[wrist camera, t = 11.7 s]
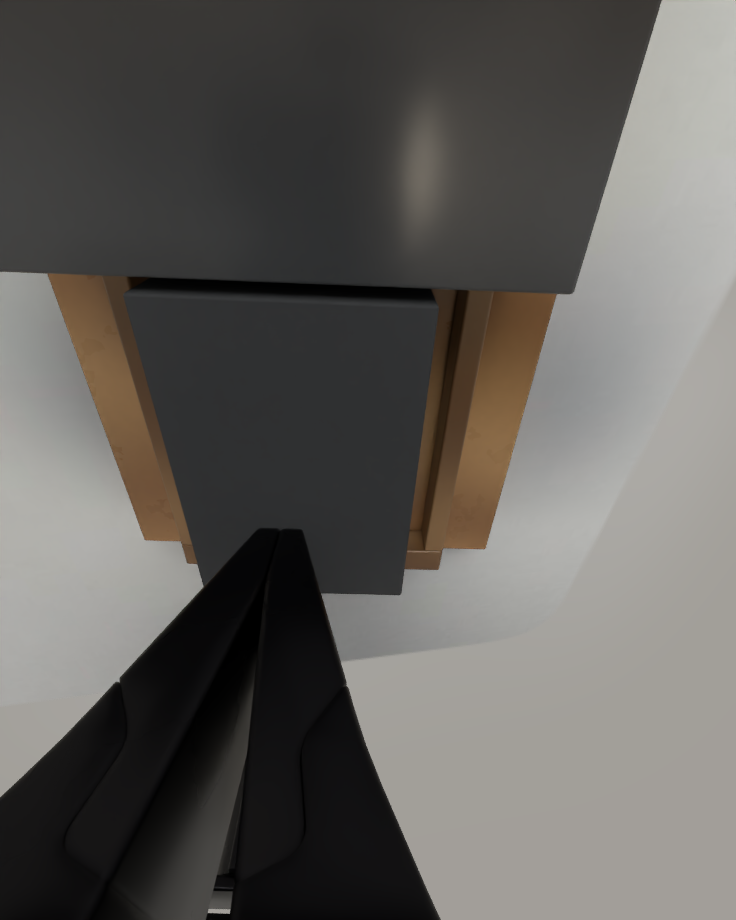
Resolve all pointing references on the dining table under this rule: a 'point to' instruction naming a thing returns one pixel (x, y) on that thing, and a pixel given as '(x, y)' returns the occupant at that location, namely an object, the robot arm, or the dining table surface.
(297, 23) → the sharpening stone on base
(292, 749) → the robot arm
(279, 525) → the loose pad
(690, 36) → the dining table surface
